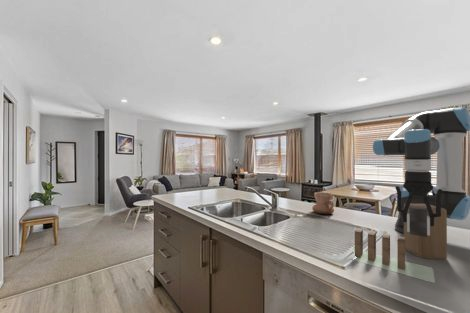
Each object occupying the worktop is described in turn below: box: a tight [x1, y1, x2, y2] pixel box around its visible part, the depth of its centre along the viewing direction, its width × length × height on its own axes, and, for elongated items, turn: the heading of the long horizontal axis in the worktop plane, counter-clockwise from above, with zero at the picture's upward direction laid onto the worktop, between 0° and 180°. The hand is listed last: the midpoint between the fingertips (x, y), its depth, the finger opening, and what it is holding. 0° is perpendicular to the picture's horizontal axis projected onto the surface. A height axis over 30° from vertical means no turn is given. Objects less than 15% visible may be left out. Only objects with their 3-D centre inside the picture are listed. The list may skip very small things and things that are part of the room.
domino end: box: [354, 227, 364, 258], centre depth 85 cm, size 5×2×10 cm, turn 139°
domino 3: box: [396, 235, 406, 270], centre depth 76 cm, size 5×2×10 cm, turn 139°
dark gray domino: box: [409, 207, 427, 237], centre depth 80 cm, size 5×2×10 cm, turn 49°
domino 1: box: [367, 230, 377, 262], centre depth 82 cm, size 5×2×10 cm, turn 139°
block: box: [403, 203, 448, 260], centre depth 87 cm, size 10×10×20 cm
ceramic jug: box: [312, 191, 335, 215], centre depth 152 cm, size 18×14×14 cm
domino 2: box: [381, 232, 391, 266], centre depth 79 cm, size 5×2×10 cm, turn 139°
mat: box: [347, 247, 436, 284], centre depth 79 cm, size 12×26×1 cm, turn 49°
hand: (418, 232), depth 80 cm, fingers closed on dark gray domino, 5 cm apart
